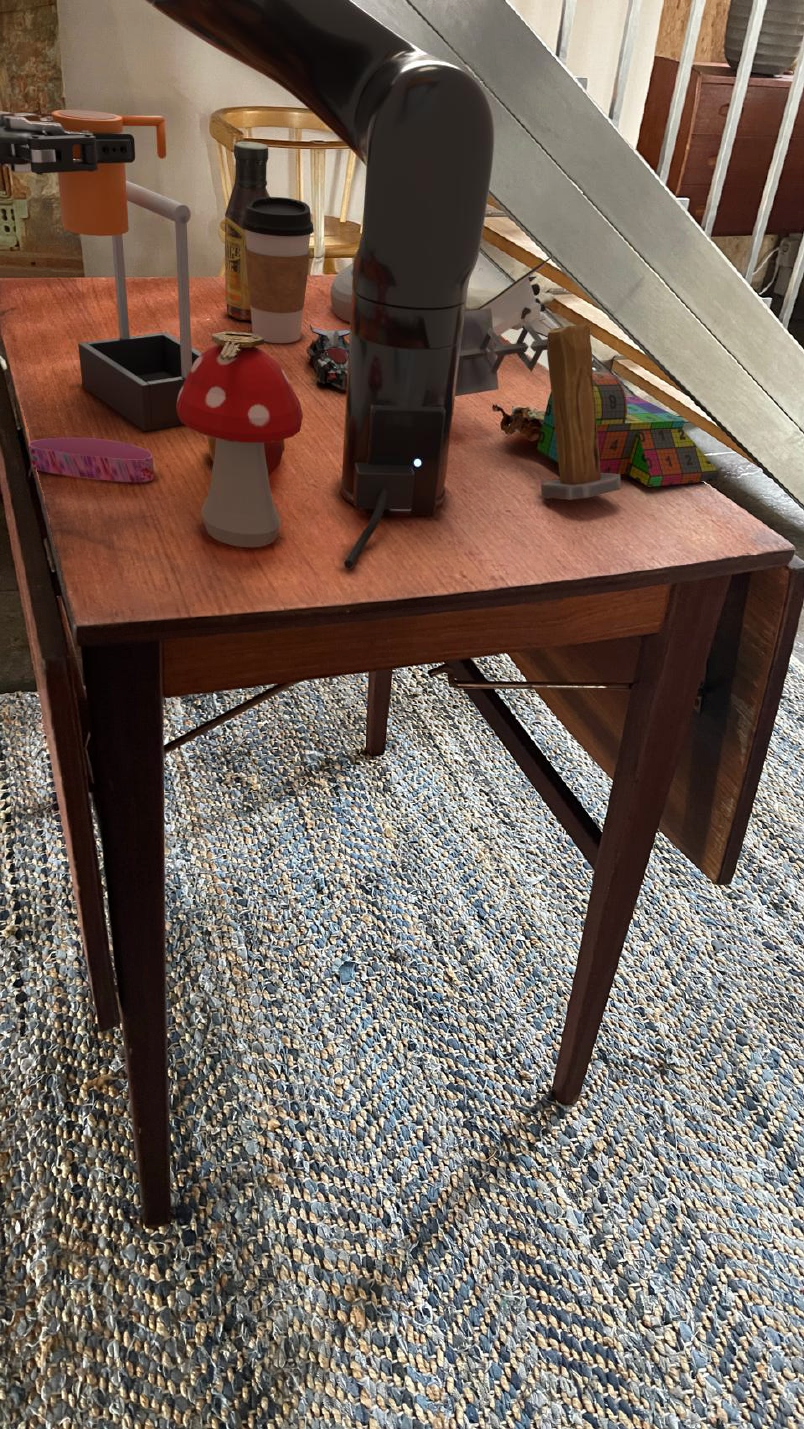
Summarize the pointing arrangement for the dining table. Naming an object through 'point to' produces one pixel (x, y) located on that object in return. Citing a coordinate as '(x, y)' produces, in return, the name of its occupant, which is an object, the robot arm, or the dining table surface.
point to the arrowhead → (482, 296)
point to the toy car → (330, 357)
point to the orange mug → (99, 176)
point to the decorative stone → (342, 293)
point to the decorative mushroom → (240, 438)
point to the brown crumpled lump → (522, 421)
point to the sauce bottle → (245, 189)
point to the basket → (144, 339)
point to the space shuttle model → (519, 307)
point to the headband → (92, 459)
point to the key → (235, 342)
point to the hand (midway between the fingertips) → (115, 141)
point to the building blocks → (636, 439)
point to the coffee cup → (277, 265)
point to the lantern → (568, 392)
